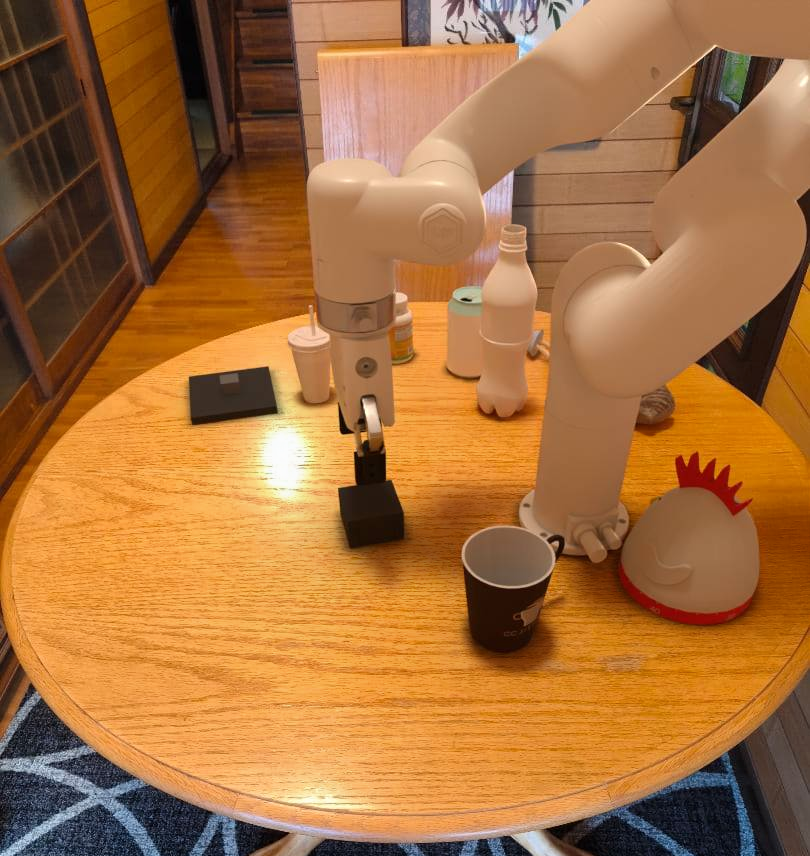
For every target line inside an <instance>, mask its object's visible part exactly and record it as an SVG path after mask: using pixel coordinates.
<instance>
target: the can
mask: <svg viewBox="0 0 810 856" xmlns="http://www.w3.org/2000/svg"><path fill="white" fill-rule="evenodd" d="M482 288H483V286H477V285H470V286H469V285H467V286H462V287H458V288H457V289H455V290H454V291H453V292H452V294H451V295H452V296H451V298H450V300H449V301H448V303H447V319H446V320H447V323H446V325H447V326H446V327H447V328H446V329H447V330H446V368H447V370H449V372H451V374H454V375H455V376H458V377H460V378H464V379H474V378H479V377H480V378H481V374H482V370H483V346H482V340H481V336H480V333H479V331H480V328H481V311H482V299H481V293H482Z"/></svg>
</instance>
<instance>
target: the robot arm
mask: <svg viewBox="0 0 810 856" xmlns="http://www.w3.org/2000/svg"><path fill="white" fill-rule="evenodd" d="M716 47H717V48H719V49H722V50H725V51H727V52H729V53H734V54H738V55H744V56H745V55H746V56H754V57H763V58H771V59H772V58H773V59H781V60H782V59H783V61H782V63H781V65H780V67H779V68H778V70H777V71H776V72H775V74H774V75H773V77H772V78H771V80H770V81H769V82H768V83H767V84H766V85H765V86H764V87H763V89H762V90H761V91H760V92H759V93H758V94H757V95H756V96H755V97H754V98H753V99H752V101H750V102H749V104H748V105H747V106H746V107H745V108H743V110H742V111H741V112H740V113H739V114H738V115H736V117H734V118H733V120H731V121H730V122H728V124H727V125H726V126H725V127H724V128H723V129H721V131H720V132H718V133H717V134H716V135H715V136H714V137H713V138H712V139H710V141H709V142H708V143H706V145H705V146H703V147H702V149H700V150H699V151H698V152H697V153H696V154H695V155H694V156H693V157H691V158H690V160H688V161H687V162H686V164H684V165H683V166H682V167H681V168H680V169H678V171H677V172H675V174H673V176H672V177H671V178H670V179H669V180H668V181H667V182H666V183H665V184H664V185H663V187H662V188H661V189H660V191H659V192H658V194H657V195H656V196H655V198H654V201H653V204H652V207H651V211H650V220H649V221H650V229H651V234H652V236H653V239H654V241H655V242H656V244H657V246H658V248H659V249H660V251H661V252H662V253H661V255H660V256H658V257H657V259H655V260H654V261H653V262H652V263H650V261H649V260H648V259H647V258H646V257H645V256H644V255H643V254H642V253H640V252H639V251H637V250H636V249H635V248H633V247H632V246H629V245H627V244H624V243H621V242H617V241H601V242H595V243H593V244H590V245H588V246H586V247H584V248H582V249H580V250H579V251H578V252H576V253H575V254H574V255H573V256H572V257H570V258H569V260H568V261H567V262H566V263H565V264H564V266H563V267H562V269H561V270H560V272H559V274H558V276H557V279H556V281H555V284H554V288H553V291H552V297H551V305H550V306H551V307H550V324H549V325H550V330H549V331H550V333H549V338H550V339H549V344H550V351H549V353H550V358H549V360H548V374H547V382H546V390H545V391H546V392H545V400H544V406H543V415H542V423H541V431H540V441H539V451H538V459H537V466H536V467H537V469H536V475H535V485H534V488H533V489H532V490H530V491H529V492H528V493H527V494H525V496H524V497H523V498H522V499H521V501H520V503H519V507H518V522H519V525H520V527H521V528H525V529H528V530H530V531H533V532H535V533H537V534H539V535H540V536H542V537H543V538H544V539H545V540H547V539H548V538H549V537H551V536H553V535H561V536H562V537H564V539H565V546H564V549H563V552H562V554H564V555H568V556H581V557H582V556H588V559H589V560H590V561H591V562H592V563H594V564H597V563H601V562H603V561H604V560H605V559H606V558H607V556H608V551H610V550H612V551H613V550H614V551H615V550H618V549H619V548H621V547H622V546H623V540H624V539H625V538H626V536H627V533H628V529H629V527H630V517H629V512H628V510H627V508H626V507H625V505H624V504H623V503H622V501H621V500H620V499H621V494H622V489H623V484H624V480H625V476H626V470H627V465H628V461H629V455H630V453H631V447H632V442H633V438H634V437H633V436H634V433H635V428H636V427H635V426H636V424H637V423H636V419H637V415H638V412H639V407H640V402H641V397H642V395H645V394H648V393H650V392H652V391H654V390H656V389H658V388H660V387H662V386H663V385H665V384H666V385H667V384H668V383H670V382H672V381H673V380H674V379H676V378H677V377H678V376H680V375H681V374H682V373H684V372H685V371H686V370H687V369H689V368H690V367H691V366H692V365H694V364H695V363H696V362H698V361H699V360H700V359H701V358H703V357H704V356H705V355H706V354H708V353H709V352H710V351H712V350H713V349H714V348H716V347H717V346H718V345H720V343H722V342H723V341H725V340H726V339H727V338H728V337H730V336H731V335H733V333H734V332H736V331H737V330H739V329H740V328H741V327H742V326H743V325H744V324H746V323H747V322H748V321H749V320H751V319H752V318H754V317H755V315H757V314H758V313H759V312H760V311H761V310H762V309H764V308H765V307H766V306H768V305H769V304H770V303H771V302H772V301H773V300H774V299H775V298H776V297H777V296H778V294H780V293H781V292H782V290H783V289H784V288H785V287H786V285H787V284H788V283H789V281H790V280H791V278H792V277H793V275H794V274H795V272H796V270H797V268H798V267H799V266H800V263H801V260H802V258H803V256H804V252H805V248H806V245H807V244H806V243H807V231H808V230H807V223H806V218H805V215H804V212H803V211H802V208H801V207H800V205H799V204H798V202H797V201H798V200H799V199H800V198H801V197H802V196H803V195H804V194H805V193H806V192H807V191H808V190H809V189H810V0H589V1H588V2H586V3H585V4H584V5H583V6H581V8H580V9H579V10H577V11H576V12H575V13H574V14H573V15H572V16H571V17H570V18H568V20H566V22H564V23H563V24H562V25H560V26H559V27H558V29H556V30H555V31H554V32H553V33H552V34H551V35H549V36H548V37H547V38H545V40H544V41H542V42H541V43H539V44H538V45H536V46H534V47H533V48H532V49H530V50H529V51H527V52H526V53H524V54H523V55H522V56H521V57H520V58H519V59H517V60H516V61H515V62H513V63H512V64H510V66H508V67H507V68H505V69H504V70H503V71H501V72H500V73H498V74H497V75H496V76H495V77H492V79H490V80H488V81H487V82H486V83H485V84H484V85H482V86H481V87H480V88H478V89H477V90H476V91H475V92H473V93H472V94H471V95H470V96H468V98H466V99H465V100H463V101H462V103H460V105H458V106H457V107H456V108H455V109H454V110H452V112H451V113H450V114H448V115H447V116H446V117H445V118H444V119H443V120H442V121H441V122H440V123H439V124H438V125H436V126H435V128H433V129H432V130H431V131H430V132H429V133H428V134H427V135H426V136H425V137H424V138H423V139H422V140H421V141H420V142H418V143H417V144H416V146H415V147H414V148H413V149H412V150H411V152H410V153H409V154H408V155H407V156H406V158H405V160H404V161H403V163H402V165H401V167H400V169H399V172H398V175H397V176H396V177H394V175H393V174H392V173H391V171H390V169H389V168H387V167H386V166H385V165H384V164H383V163H381V162H378V161H374V160H371V159H367V158H358V157H356V158H355V157H345V158H336V159H335V158H334V159H331V160H327V161H324V162H322V163H319V164H317V165H316V166H314V167H313V168H312V170H311V171H310V172H309V174H308V177H307V180H306V200H307V213H308V225H309V226H308V227H309V240H310V252H311V263H312V275H313V276H312V277H313V290H314V304H315V314H316V315H315V316H316V324H317V325H316V326H318V327H319V328H320V329H321V330H323V331H324V332H326V333H328V334H329V337H330V353H331V365H330V366H331V373H332V380H333V386H334V392H335V395H336V399H337V410H338V411H337V412H338V413H337V414H338V427H339V432H340V433H339V434H341V435H343V436H347V435H352V434H353V435H354V442H355V443H354V444H355V448H356V450H355V451H353V466H354V467H353V468H354V481H355V485H358V486H362V485H370V484H377V483H383V482H385V481H386V480H387V450H386V446H385V445H386V443H385V438H384V437H385V436H384V431H383V427H384V428H386V427H387V428H391V427H393V426H394V425H395V422H396V417H395V415H396V414H395V399H394V380H393V379H394V377H393V364H392V362H391V352H390V343H389V337H388V330H390V329H391V328H392V327H393V326H394V325H395V322H396V292H397V291H396V290H397V289H396V261H400V262H401V261H402V262H407V263H412V264H418V265H423V266H428V267H429V266H430V267H449V266H453V265H454V266H455V265H457V264H460V263H462V262H465V261H466V260H467V259H469V258H470V257H471V256H473V255H474V253H476V251H477V250H478V249H479V248H480V246H481V244H482V242H483V240H484V237H485V234H486V232H487V231H486V229H487V210H486V206H485V201H484V197H483V196H484V195H485V194H486V193H488V192H489V191H490V190H492V188H493V187H495V186H496V184H498V183H499V182H501V180H503V179H504V178H505V177H507V176H508V175H509V174H510V173H512V172H513V171H514V170H516V169H517V168H518V167H520V166H521V165H523V163H526V162H527V161H528V160H530V159H532V158H534V157H535V156H537V155H540V154H541V153H543V152H546V151H548V150H549V149H552V148H557V147H560V146H564V145H570V144H577V143H585V142H589V141H593V140H597V139H599V138H602V137H604V136H607V135H609V134H611V133H613V132H614V131H615V130H616V129H617V128H619V127H620V126H621V125H623V124H624V123H626V121H627V120H629V119H630V118H631V117H632V116H633V115H634V114H636V113H637V112H638V111H639V110H640V109H641V108H643V107H644V106H646V104H648V103H649V102H650V101H651V100H653V99H654V98H655V97H657V96H658V95H659V94H660V93H661V92H662V91H664V90H665V89H667V87H668V86H670V85H671V84H672V83H673V82H675V81H676V80H677V79H678V78H679V77H680V76H682V75H683V74H684V73H685V72H687V71H688V70H689V69H690V68H692V67H693V66H694V65H696V64H697V63H698V62H699V61H700V60H702V59H703V58H704V57H705V56H706V55H708V54H709V53H710V52H711V51H712V50H713V49H715V48H716ZM362 433H366V439H364V440H362V439H363V438H362ZM550 545H551V546H552V548H553V550H554V553H556V551H557V549H558V546H559V541H555V542H553V543H551V544H550ZM562 554H561V555H562Z"/></svg>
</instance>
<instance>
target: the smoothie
mask: <svg viewBox="0 0 810 856" xmlns="http://www.w3.org/2000/svg"><path fill="white" fill-rule="evenodd" d="M308 312H309V313H308V314H309V322H310V325H305V326H301V327H298V328H295V329H293V330H292V331H290V332H289V333H288V334H287V339H286V340H287V347H289V349H290V350H291V353H292V354H291V355H292V357H293V361H294V365H295V369H296V373H297V377H298V380H299V385H300V388H301V392H302V396H303V399H304V401H305V402H307V403H309V404H321V403H324V402H326V401H328V400H329V399H330V387H331V386H330V385H331V366H332V365H331V353H330V337H329V334H328V333H326V332H324V331H323V330H321V329H320V328H319V327H318V325H315V324H316V323H315V315H314V314H315V313H314V305H312V304H309V305H308Z"/></svg>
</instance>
